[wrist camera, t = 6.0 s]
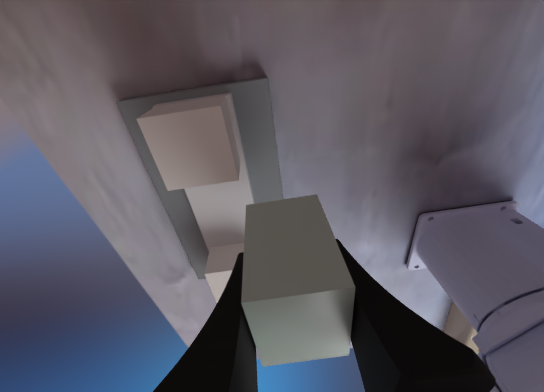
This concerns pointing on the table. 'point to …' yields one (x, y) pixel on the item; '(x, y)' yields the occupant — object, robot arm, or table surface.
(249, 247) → the block
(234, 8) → the table surface
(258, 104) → the rail board
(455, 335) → the electrical outlet
